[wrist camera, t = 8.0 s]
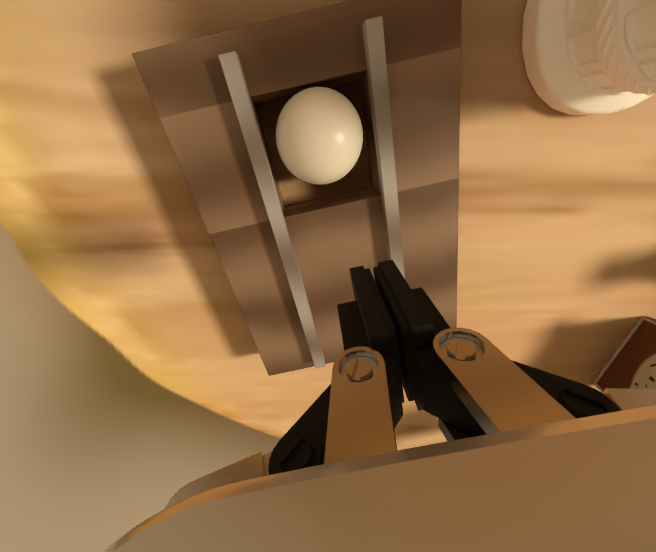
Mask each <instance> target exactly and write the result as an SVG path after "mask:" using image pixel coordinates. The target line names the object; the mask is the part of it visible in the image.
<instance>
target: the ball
mask: <svg viewBox="0 0 656 552" xmlns="http://www.w3.org/2000/svg"><path fill="white" fill-rule="evenodd" d="M362 144H363V128H362V124H361V120H360V117H359V114H358V113H357V111H356V109H355V107H354V106H353V104H352V103H351V102H350V101H349V100H348V99H347V98H346V97H345V96H344V95H342V94H341V93H339V92H338V91H336V90H333V89H330V88H327V87H311V88H307V89H304V90H302V91H300V92H298V93H297V94H295V95H294V96H293V97H292V98H290V99H289V100H288V102H287V103H286V104H285V106H284V107H283V109H282V111H281V113H280V115H279V118H278V121H277V125H276V145H277V149H278V152H279V155H280V158H281V160H282V161H283V163H284V165H285V166H286V167H287V169H288V170H289V171H290V172H291V173H292V174H293V175H295V176H296V177H297V178H299V179H301V180H302V181H305V182H307V183H311V184H318V185H320V184H329V183H332V182H335V181H337V180H339V179H341V178H342V177H344V176H345V175H346V174H347V173H349V172H350V170H351V169H352V168H353V167H354V165H355V164H356V162H357V160H358V158H359V156H360V153H361V149H362Z"/></svg>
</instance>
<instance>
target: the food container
mask: <svg viewBox="0 0 656 552" xmlns="http://www.w3.org/2000/svg"><path fill="white" fill-rule="evenodd" d="M593 384H594V385H595V386H596V387H597V388H598V389H599V390H600V391H601V392H602V393H604V390H605V388H618V389H656V319H653V318H650V317H645V316H642V317H641V318H640V319H639V321H638V322H637V323H636V325H635V326H634V328H633V329H632V330H631V332H630V333H629V334H628V336H627V337H626V338H625V340H624V341H623V342H622V344H621V345H620V347H619V348H618V349H617V351H616V352H615V353H614V355H613V356H612V357H611V359H610V360H609V361H608V363H607V364H606V366H605V367H604V368H603V370H602V371H601V372H600V374H599V375H598V376H597V378H596V379H595V380H594V382H593Z"/></svg>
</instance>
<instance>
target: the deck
mask: <svg viewBox="0 0 656 552" xmlns="http://www.w3.org/2000/svg"><path fill="white" fill-rule="evenodd" d="M132 55H133V58H134V60H135V62H136V65H137V67H138V69H139V72H140V74H141V76H142V79H143V81H144V83H145V86H146V88H147V90H148V93H149V95H150V97H151V100H152V102H153V105H154V107H155V109H156V112H157V114H158V116H159V119H160V121H161V123H162V126H163V128H164V130H165V133H166V135H167V137H168V140H169V142H170V144H171V147H172V149H173V151H174V154H175V156H176V159H177V161H178V163H179V166H180V168H181V170H182V173H183V175H184V177H185V180H186V182H187V184H188V187H189V189H190V191H191V194H192V196H193V198H194V201H195V203H196V206H197V208H198V210H199V213H200V215H201V217H202V220H203V222H204V224H205V227H206V229H207V231H208V234H209V236H210V238H211V241H212V243H213V245H214V248H215V250H216V252H217V255H218V257H219V260H220V262H221V264H222V267H223V269H224V271H225V274H226V276H227V278H228V281H229V283H230V285H231V288H232V290H233V292H234V295H235V297H236V299H237V302H238V304H239V306H240V309H241V311H242V314H243V316H244V318H245V321H246V323H247V325H248V328H249V330H250V332H251V335H252V337H253V339H254V342H255V344H256V346H257V349H258V351H259V353H260V356H261V358H262V361H263V363H264V365H265V368H266V370H267V372H268V375H269V376H270V375H275V374H280V373H284V372H289V371H294V370H298V369H303V368H308V367H312V366H315V368H320V367H325V364H326V363H331V362H334V361H335V360H336V358H337V357H338V355H340V354H341V353H342V352H343V351H344V346H343V340H342V334H341V328H340V321H339V315H338V309H337V304H341V303H346V302H351V301H355V297H354V292H353V286H352V281H351V276H350V270H349V268H354V267H359V266H364V269H367V268H369V269H370V271H371V273H372V275H373V278H374V271H373V267H376V266H378V262H382V261H387V260H393V261H394V263H395V264H396V266H397V267H398V269H399V271H400V272H401V274H402V275H403V277H404V279H405V280H406V282H407V283H408V285H409V286H410V288H411V289H414V288H419V287H421V288H422V289H423V290H424V291H425V292H426V294H427V295H428V297H429V298H430V299H431V301H432V302H433V304H434V305H435V306H436V308H437V309H438V311H439V312H440V314H441V315H442V316H443V318H444V319H445V321H446V322H447V323H448V325H449V326H450V328H456V322H457V256H458V189H459V123H460V57H461V0H352V1H348V2H344V3H339V4H335V5H331V6H327V7H323V8H319V9H315V10H310V11H306V12H302V13H298V14H294V15H290V16H285V17H281V18H277V19H273V20H269V21H265V22H261V23H256V24H252V25H248V26H244V27H240V28H236V29H232V30H227V31H223V32H219V33H215V34H211V35H207V36H203V37H198V38H194V39H190V40H186V41H182V42H178V43H174V44H169V45H165V46H161V47H157V48H153V49H149V50H145V51H140V52H136V53H132ZM358 79H359V81H360V89H361V97H362V105H363V113H364V121H365V129H366V137H367V145H368V153H369V161H370V169H371V177H372V185H373V187H370V188H365V189H361V190H357V191H352V192H348V193H343V194H339V195H335V196H330V197H326V198H321V199H317V200H313V201H308V202H304V203H299V204H295V205H290V206H286V207H285V206H284V202H283V199H282V195H281V192H280V188H279V184H278V181H277V177H276V174H275V170H274V166H273V163H272V159H271V156H270V152H269V148H268V145H267V141H266V138H265V134H264V130H263V127H262V123H261V120H260V116H259V112H258V109H257V105H256V103H260V102H264V101H269V100H273V99H277V98H281V97H286V96H290V95H294V94H297V93H298V92H300V91H302V90H304V89H307V88H311V87H328V86H332V85H337V84H341V83H345V82H349V81H354V80H358ZM374 280H375V278H374Z"/></svg>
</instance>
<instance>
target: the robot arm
mask: <svg viewBox="0 0 656 552" xmlns="http://www.w3.org/2000/svg"><path fill="white" fill-rule="evenodd" d="M349 270H350V276H351V281H352V286H353V292H354V297H355V301H351V302H346V303H341V304H337V309H338V315H339V321H340V328H341V334H342V340H343V346H344V351H343V352H342V353H341V354H340V355H338V357H337V358H336V360H335V361H334V365H333V370H332V381H331V384H330V385H329V387H328V388H327V389H326V390H325V391H324V392H323V393H322V394H321V395H320V396H319V398H318V399H317V400H316V401H315V402H314V403H313V404H312V405H311V406H310V408H309V409H308V410H307V411H306V412H305V413H304V414H303V415H302V416H301V417H300V419H299V420H298V421H297V422H296V423H295V424H294V425H293V426H292V427H291V428H290V430H289V431H288V432H287V433H286V434H285V435H284V436H283V437H282V438H281V440H280V441H279V442H278V444H277V445H276V446H275V448H274V449H273V451H272V452H270V453H267V454H265V455H263V454H262V452H259V453H257V454H254V455H252V456H250V457H248V458H245V459H243V460H241V461H238V462H236V463H234V464H231V465H229V466H227V467H225V468H222V469H220V470H218V471H215V472H213V473H211V474H208V475H206V476H204V477H201V478H199V479H197V480H194V481H192V482H190V483H188V484H187V485H185V486H184V487H182V488H181V489H180V490H179V491H178V492H177V493H176V494H175V495H174V496H173V497H172V498H171V499H170V501H169V503H168V504H167V506H166V507H165V509H164V510H162V511H160V512H159V513H157V514H155V515H153V516H152V517H150V518H148V519H147V520H145V521H144V522H142V523H140V524H139V525H137V526H136V527H134V528H133V529H131V530H130V531H129V532H127V533H126V534H125V535H123V536H122V537H120V538H119V539H118V540H117V541H115V542H114V543H113V544H112V545H111V546H109V547H108V548H107V549H106V550H105V551H104V552H656V389H618V388H605V390H604V393H601V392H599V391H598V390H596V389H593V388H591V387H589V386H586V385H584V384H581V383H578V382H575V381H572V380H569V379H566V378H563V377H560V376H557V375H554V374H551V373H548V372H545V371H542V370H539V369H536V368H533V367H530V366H527V365H524V364H521V363H518V362H515V361H512V360H510V359H509V358H508V357H507V356H506V355H505V354H503V353H502V352H501V351H500V350H499V349H498V348H497V347H496V346H494V345H493V344H492V343H491V342H490V341H489V340H488V339H487V338H486V337H484V336H483V335H481V334H480V333H478V332H476V331H473V330H470V329H465V328H450V326H449V325H448V323H447V322H446V321H445V319H444V318H443V316H442V315H441V314H440V312H439V311H438V309H437V308H436V306H435V305H434V304H433V302H432V301H431V299H430V298H429V297H428V295H427V294H426V292H425V291H424V290H423V289H422V288H421V287H419V288H414V289H411V288H410V286H409V285H408V283H407V282H406V280H405V279H404V277H403V275H402V274H401V272H400V271H399V269H398V267H397V266H396V264H395V263H394V261H393V260H387V261H382V262H378V266H376V267H373V271H374V278H375V280H374V278H373V275H372V273H371V271H370V269H369V268H367V269H364V266H359V267H354V268H349ZM402 385H403V386H402ZM403 387H404V390H405V393H406V396H407V398H408V400H409V401H413V400H414V401H415V403H416V406H417V408H418V411H420V410H424V411H426V412H428V413H430V414H432V415H434V416H435V419H436V422H437V424H438V426H439V428H440V430H441V431H442V433H443V435H444V436H445V438H446V439H447V441H448V442H443V443H437V444H432V445H426V446H421V447H415V448H409V449H404V450H399V451H397V445H396V437H395V430H394V428H395V427H396V425H397V423H398V422H399V420H400V419H401V417H402V416H403V408H402V403H403V402H404V396H403Z"/></svg>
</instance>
